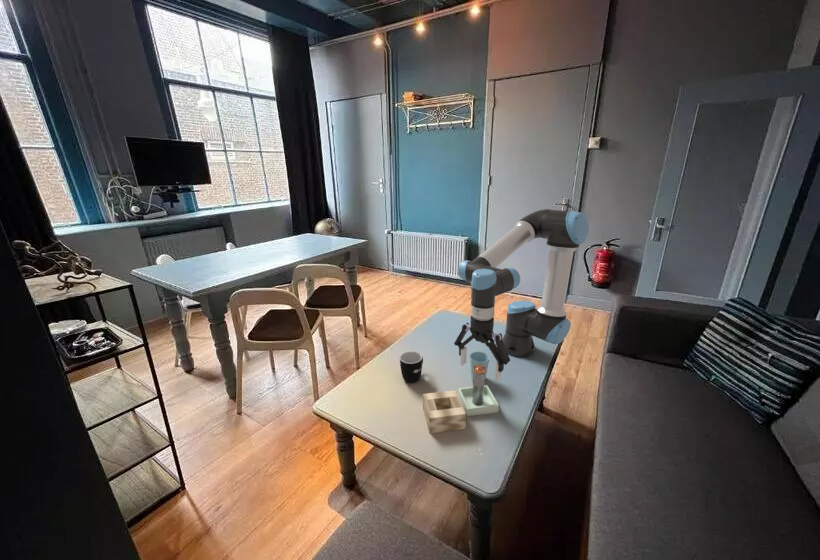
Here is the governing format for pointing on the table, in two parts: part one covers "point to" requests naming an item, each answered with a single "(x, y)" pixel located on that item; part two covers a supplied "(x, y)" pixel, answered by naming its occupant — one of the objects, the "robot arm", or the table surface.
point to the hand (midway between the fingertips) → (479, 370)
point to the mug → (411, 366)
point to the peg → (478, 385)
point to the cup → (479, 361)
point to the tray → (471, 409)
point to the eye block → (443, 411)
